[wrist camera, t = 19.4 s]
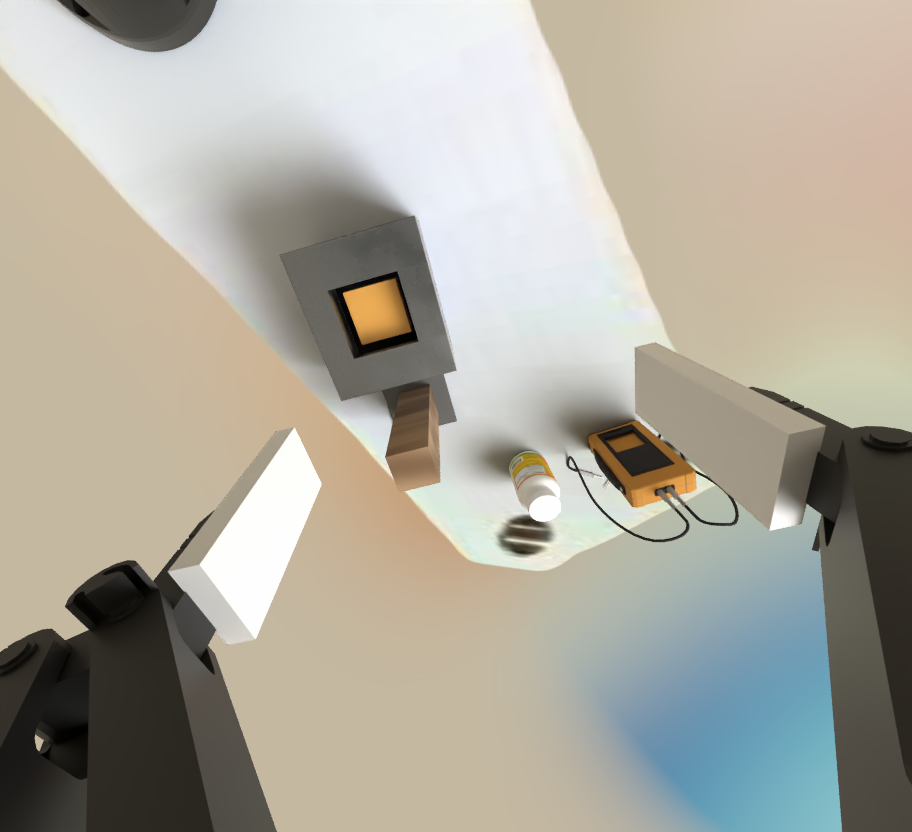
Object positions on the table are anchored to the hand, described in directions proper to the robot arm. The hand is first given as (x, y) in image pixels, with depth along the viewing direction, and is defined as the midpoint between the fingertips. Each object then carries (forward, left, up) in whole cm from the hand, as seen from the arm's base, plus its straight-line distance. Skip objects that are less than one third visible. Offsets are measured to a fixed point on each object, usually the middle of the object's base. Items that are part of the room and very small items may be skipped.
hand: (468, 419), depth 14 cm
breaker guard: (-2, -7, -33) cm, 33 cm away
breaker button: (-2, -7, -31) cm, 32 cm away
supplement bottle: (+25, +5, -33) cm, 42 cm away
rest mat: (+11, -7, -33) cm, 35 cm away
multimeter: (+27, +18, -33) cm, 47 cm away
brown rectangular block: (+11, -7, -32) cm, 35 cm away
